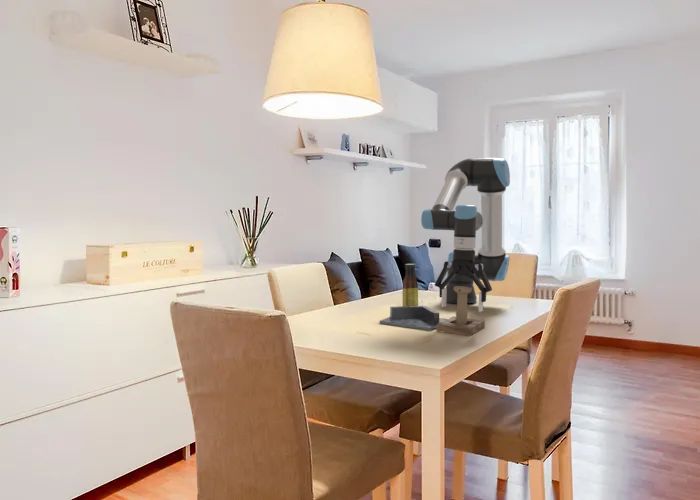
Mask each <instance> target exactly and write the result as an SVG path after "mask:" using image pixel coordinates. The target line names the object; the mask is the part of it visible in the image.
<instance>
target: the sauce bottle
mask: <svg viewBox="0 0 700 500" xmlns="http://www.w3.org/2000/svg"><path fill="white" fill-rule="evenodd" d="M404 268H405V274H404V275H405V276H404V278H403V280H402V306H419V284H418V281H417V279H416V271H415V270H416V264H415V263H405V264H404Z"/></svg>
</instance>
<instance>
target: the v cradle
mask: <svg viewBox="0 0 700 500" xmlns="http://www.w3.org/2000/svg"><path fill="white" fill-rule="evenodd" d="M389 309H390V310H389V316H388V317H387V318H383V319H381V320H379V324H381V325H387V326H395V327H403V328H409V329H415V330H421V329H423V331H428V330H431V331H433V330H435V329H437V324H438V323H440V322H443V321H445V320H447V319H448V318H443V317H440V312H438V311H437V310H434V309H433V308H430V307H429V306H427V305H425V306H424V305H418V306H403V305H402V306H401V305H400V306H390V307H389ZM434 328H435V329H434ZM432 329H433V330H432Z"/></svg>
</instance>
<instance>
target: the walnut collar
mask: <svg viewBox="0 0 700 500" xmlns="http://www.w3.org/2000/svg"><path fill="white" fill-rule="evenodd" d="M446 319H447V320H445V321H443V322H440V323H438V324H437V328H436V331H437V332H440V331H444V332H443V333H447V332H448V333H447V334H454V335H462V336H469V337H470V336H472V335H474V334H476V333H477V332H479V331H481V330H482V329H485V327H486V320H484V319H477V318H476V319H475V318H468V317H467V324H466V325H461V324H457V323H456V316H452V317H449V318H446Z"/></svg>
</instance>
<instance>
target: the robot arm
mask: <svg viewBox="0 0 700 500" xmlns="http://www.w3.org/2000/svg"><path fill="white" fill-rule="evenodd" d="M510 178H511V173H510V168H509V163H508V160H506V159H505V158H499V157H478V158H477V157H475V158H466V159H463V160H460V161H459V162H457V163H455V165H453V166H452V167H451V168H449V170H448V171H447V173H446V174H445V176H444V183H443V185H442V188H441V190H440V192H439V195H437V198H436V200H435V202H434V204H433V206H432V208H431V209H430V208H427V209H424V210H422V213H421V219H420V221H421V226H422V228H423V229H425V230H432V231H434V230H436V231H454V232H453V248H454V249H453V250H452V251H451V252H449V253H448V256H447V261H444V262H443V268H442V269H441V271H440V273H439V276H438V277H437V279H436V281H435V283H434V287H436V288H437V287H438V289H439V296H438V297H439V298H441V304H440V305H441V308H445V307H447V303H448V302H450V303H449V304H454V303H457V299H458V293H457V292H455V291H454V286H465V287H471V288H472V292H470V293H468V295H467V303H473V304H476V303H477V302H478V309H477V311H478V312H479V313H480V312H483V311H484V303H485V302H486V301H487V293H489V292H491V291H492V290H493V288H492V285H491V284H490V281H491V282H503V281H505V280H506V278H507V276H508V275H507V274H508V272H509V271H508V270H509V265H510V256H509V254H506V250H505V248H503V194H504V193H505V192H506V191H507V190H506V189H507V187H509V186H510V182H511V179H510ZM467 187H476V188H477V190H476V191H477V193H479V194H480V198H481V199H480V207H481V208H480V210H481V213H480V212H479V211H478V209H477V206H476V205H473V204H471V205H470V204H457V201H458V200H459V198H460V195H461V193H462V191H463V190H465V189H466V188H467ZM456 204H457V205H456ZM454 209H455V210H454ZM480 229H481V248H480V249H478V250H477V251H478V252H477V253H476V250H474V249H475V248H476V242H477V241H476V237H477V234H476V233H477V231H479V230H480ZM446 275H447V277H446V278H445V276H446ZM444 279H445V280H444ZM474 284H475V285H476V287H477V288H478V289H479V291H480V292H479V293H478V298H477V294H476V291H475V290H476V289H475V287H474ZM477 299H478V301H477Z"/></svg>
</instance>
